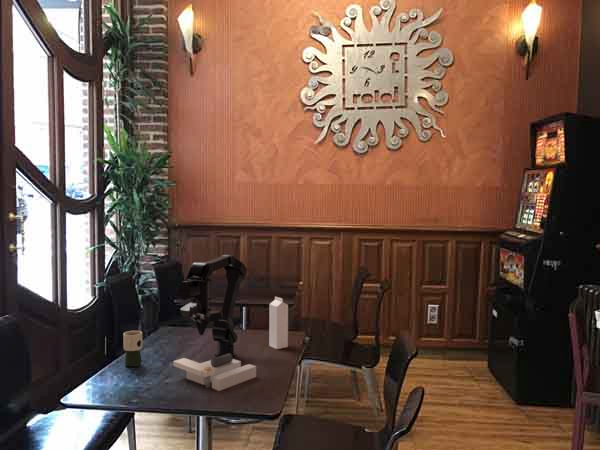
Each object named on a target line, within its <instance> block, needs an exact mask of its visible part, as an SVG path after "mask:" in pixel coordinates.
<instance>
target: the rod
mask: <svg viewBox="0 0 600 450" xmlns="http://www.w3.org/2000/svg"><path fill="white" fill-rule="evenodd" d="M233 357H234V356H232V355H231V354H230V353H229V354H226V355H223V356H219V357H218V356H215V357H214V358H211V359H210V360H211V365H212V367H217V366H220V365H223V364H226V363H229V362H232V360H233V359H234V358H233Z"/></svg>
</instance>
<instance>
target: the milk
mask: <svg viewBox="0 0 600 450" xmlns="http://www.w3.org/2000/svg"><path fill="white" fill-rule="evenodd" d="M268 307H269V314H268V315H269V325H268V328H269V331H268V332H269V334H268V335H269V336H268V337H269V340H268V341H269V342H268V345H269V347H271V348H273V349H275V350H279V349H284V348H288V347H289V346H288V345H289V305H288V304H287V303H286V302H284V299H283V298H282V297H278V296H274V300H273V301H271V302H270V303H269V306H268Z"/></svg>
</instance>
